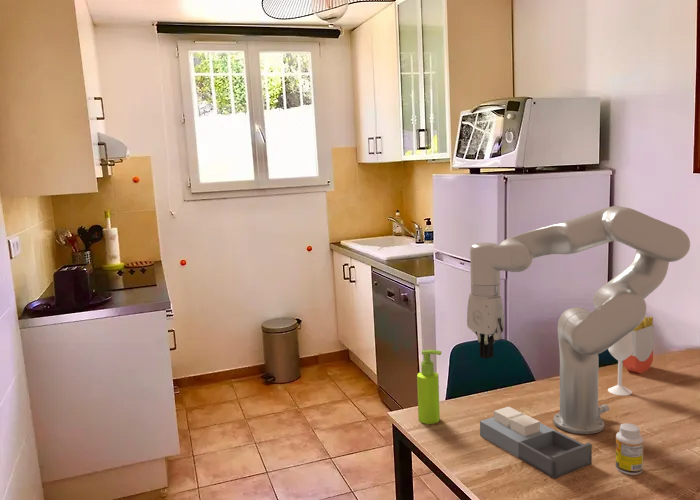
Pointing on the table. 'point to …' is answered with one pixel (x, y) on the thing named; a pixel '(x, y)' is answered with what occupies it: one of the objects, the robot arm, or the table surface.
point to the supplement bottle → (629, 449)
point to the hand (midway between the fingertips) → (486, 356)
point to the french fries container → (641, 347)
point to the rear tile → (506, 415)
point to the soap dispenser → (428, 390)
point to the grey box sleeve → (514, 436)
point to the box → (557, 455)
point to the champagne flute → (621, 352)
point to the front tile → (525, 425)
